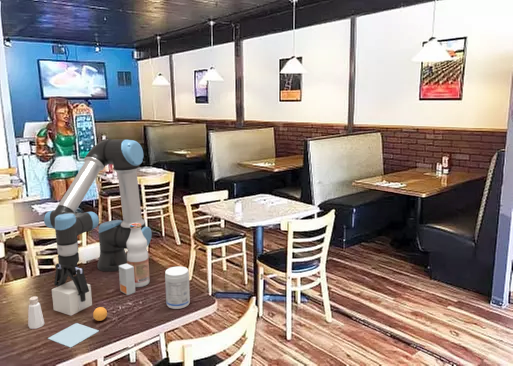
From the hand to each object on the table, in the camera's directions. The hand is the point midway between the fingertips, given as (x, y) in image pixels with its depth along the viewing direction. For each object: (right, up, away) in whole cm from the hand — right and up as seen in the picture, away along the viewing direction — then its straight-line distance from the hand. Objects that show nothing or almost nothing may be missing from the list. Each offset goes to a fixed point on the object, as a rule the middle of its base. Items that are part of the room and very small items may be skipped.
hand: (72, 305), depth 171 cm
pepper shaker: (-8, -4, -14) cm, 16 cm away
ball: (+15, 0, -10) cm, 18 cm away
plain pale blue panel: (+9, -5, -20) cm, 23 cm away
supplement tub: (+42, 0, +2) cm, 42 cm away
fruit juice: (+20, +3, +23) cm, 31 cm away
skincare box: (+18, +2, +14) cm, 23 cm away
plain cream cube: (0, -1, 0) cm, 1 cm away
